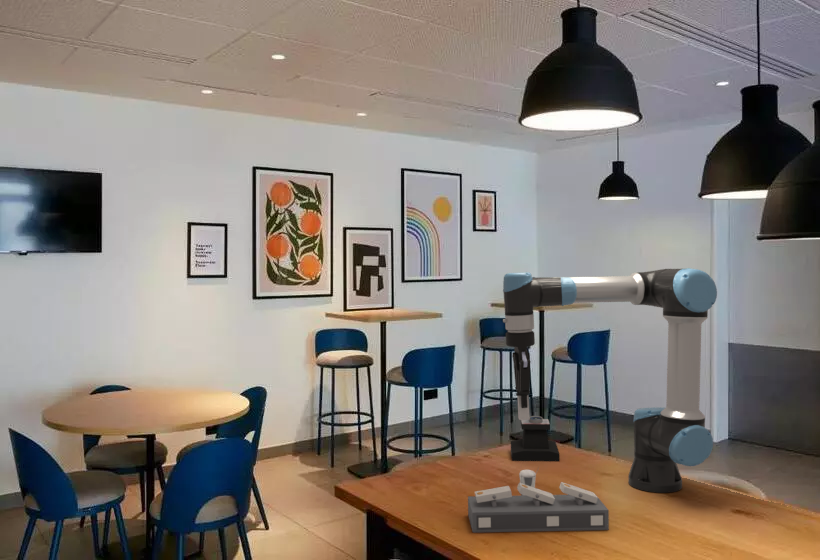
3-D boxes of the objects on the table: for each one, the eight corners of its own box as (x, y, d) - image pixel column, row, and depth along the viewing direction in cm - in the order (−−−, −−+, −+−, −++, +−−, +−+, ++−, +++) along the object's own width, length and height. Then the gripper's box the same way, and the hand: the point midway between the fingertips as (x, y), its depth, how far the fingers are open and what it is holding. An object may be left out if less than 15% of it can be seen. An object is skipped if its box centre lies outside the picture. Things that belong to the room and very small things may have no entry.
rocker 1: (509, 491, 179) (508, 484, 179) (512, 497, 174) (511, 490, 174) (475, 497, 179) (474, 490, 179) (477, 503, 174) (476, 496, 174)
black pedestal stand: (511, 423, 232) (509, 409, 246) (512, 464, 233) (510, 448, 248) (559, 423, 230) (554, 409, 245) (559, 464, 232) (554, 448, 246)
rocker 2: (591, 497, 179) (593, 491, 179) (596, 504, 175) (598, 497, 175) (558, 487, 179) (560, 481, 179) (562, 492, 175) (565, 486, 174)
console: (595, 512, 183) (595, 489, 183) (609, 530, 171) (608, 505, 171) (468, 515, 183) (467, 491, 183) (472, 532, 171) (472, 507, 170)
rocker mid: (549, 498, 179) (551, 492, 179) (553, 505, 175) (555, 498, 175) (516, 487, 179) (519, 481, 179) (519, 493, 174) (522, 487, 174)
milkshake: (539, 506, 189) (538, 470, 189) (519, 505, 190) (518, 469, 190) (539, 500, 193) (538, 465, 193) (520, 499, 194) (519, 464, 194)
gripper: (501, 329, 188) (506, 414, 189) (509, 334, 175) (514, 425, 176) (529, 327, 188) (533, 413, 189) (538, 332, 175) (543, 424, 176)
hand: (524, 419), depth 182 cm, fingers closed
